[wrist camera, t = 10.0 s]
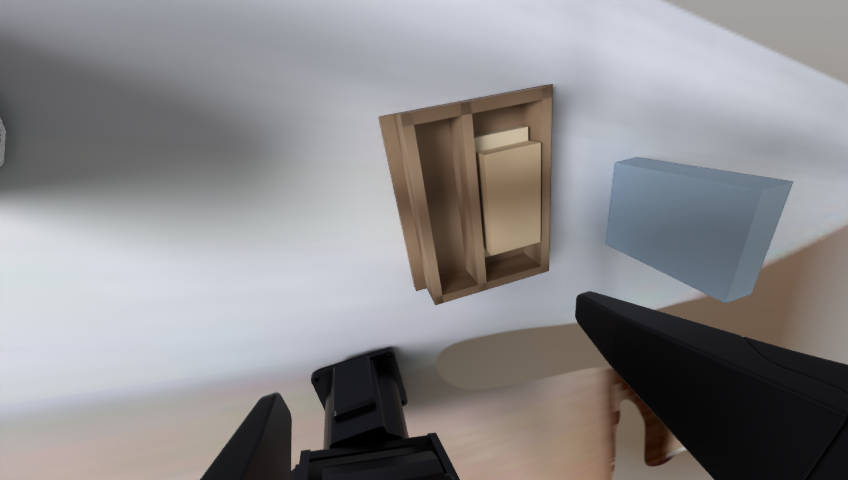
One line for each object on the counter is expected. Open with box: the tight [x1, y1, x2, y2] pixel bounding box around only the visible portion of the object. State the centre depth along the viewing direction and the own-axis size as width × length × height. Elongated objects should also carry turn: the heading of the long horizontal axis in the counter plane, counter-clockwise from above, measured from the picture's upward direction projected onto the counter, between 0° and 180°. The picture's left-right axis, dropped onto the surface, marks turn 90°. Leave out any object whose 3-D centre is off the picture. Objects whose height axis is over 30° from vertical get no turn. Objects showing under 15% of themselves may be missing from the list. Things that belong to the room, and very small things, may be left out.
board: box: [606, 157, 793, 303], centre depth 21 cm, size 7×2×9 cm, turn 9°
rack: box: [378, 84, 553, 305], centre depth 20 cm, size 12×11×3 cm
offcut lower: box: [474, 126, 528, 258], centre depth 20 cm, size 8×4×1 cm, turn 9°
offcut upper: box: [475, 141, 541, 255], centre depth 19 cm, size 6×4×1 cm, turn 9°
